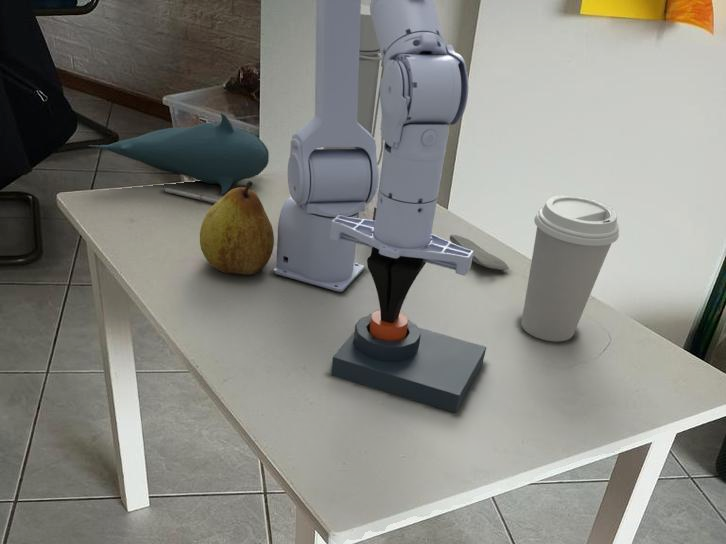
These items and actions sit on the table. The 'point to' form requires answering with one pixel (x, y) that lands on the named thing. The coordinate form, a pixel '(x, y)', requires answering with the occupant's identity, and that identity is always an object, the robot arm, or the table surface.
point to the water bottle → (367, 75)
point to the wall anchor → (191, 195)
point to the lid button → (388, 327)
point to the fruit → (237, 233)
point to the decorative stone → (479, 254)
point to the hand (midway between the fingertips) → (389, 318)
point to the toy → (199, 152)
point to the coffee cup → (566, 263)
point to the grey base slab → (411, 364)
